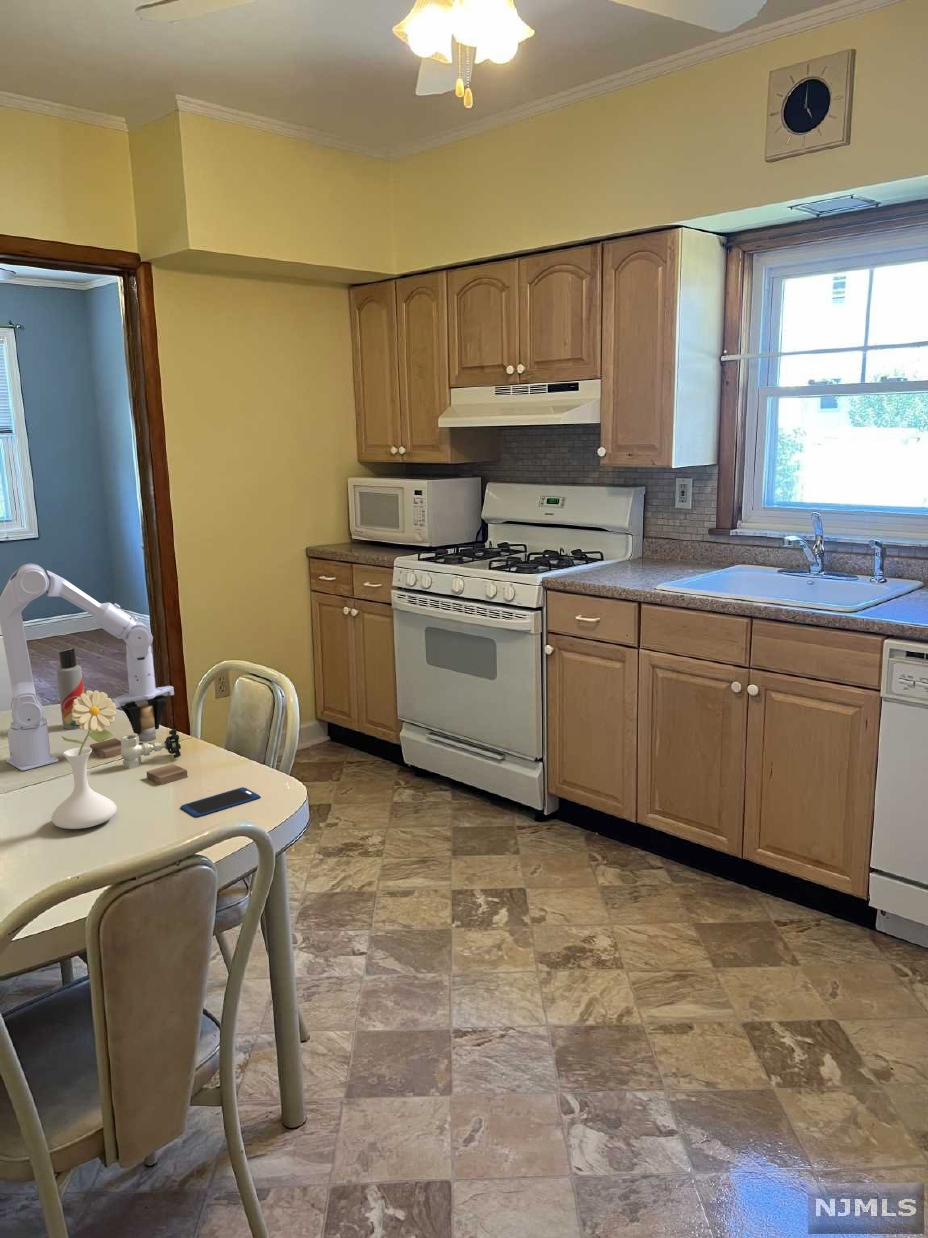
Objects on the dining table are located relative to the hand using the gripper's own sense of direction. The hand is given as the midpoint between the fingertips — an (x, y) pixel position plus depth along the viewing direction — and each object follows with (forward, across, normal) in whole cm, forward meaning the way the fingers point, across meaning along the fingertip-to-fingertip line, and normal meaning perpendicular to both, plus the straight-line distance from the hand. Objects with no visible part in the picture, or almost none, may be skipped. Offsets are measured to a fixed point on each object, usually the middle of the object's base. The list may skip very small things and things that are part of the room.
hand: (146, 730), depth 215 cm
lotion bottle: (+4, -5, +28) cm, 29 cm away
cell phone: (+4, -8, -45) cm, 46 cm away
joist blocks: (+3, -8, -12) cm, 14 cm away
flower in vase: (+4, -29, -34) cm, 45 cm away
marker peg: (+2, 0, 0) cm, 2 cm away
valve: (+4, -6, -12) cm, 14 cm away
